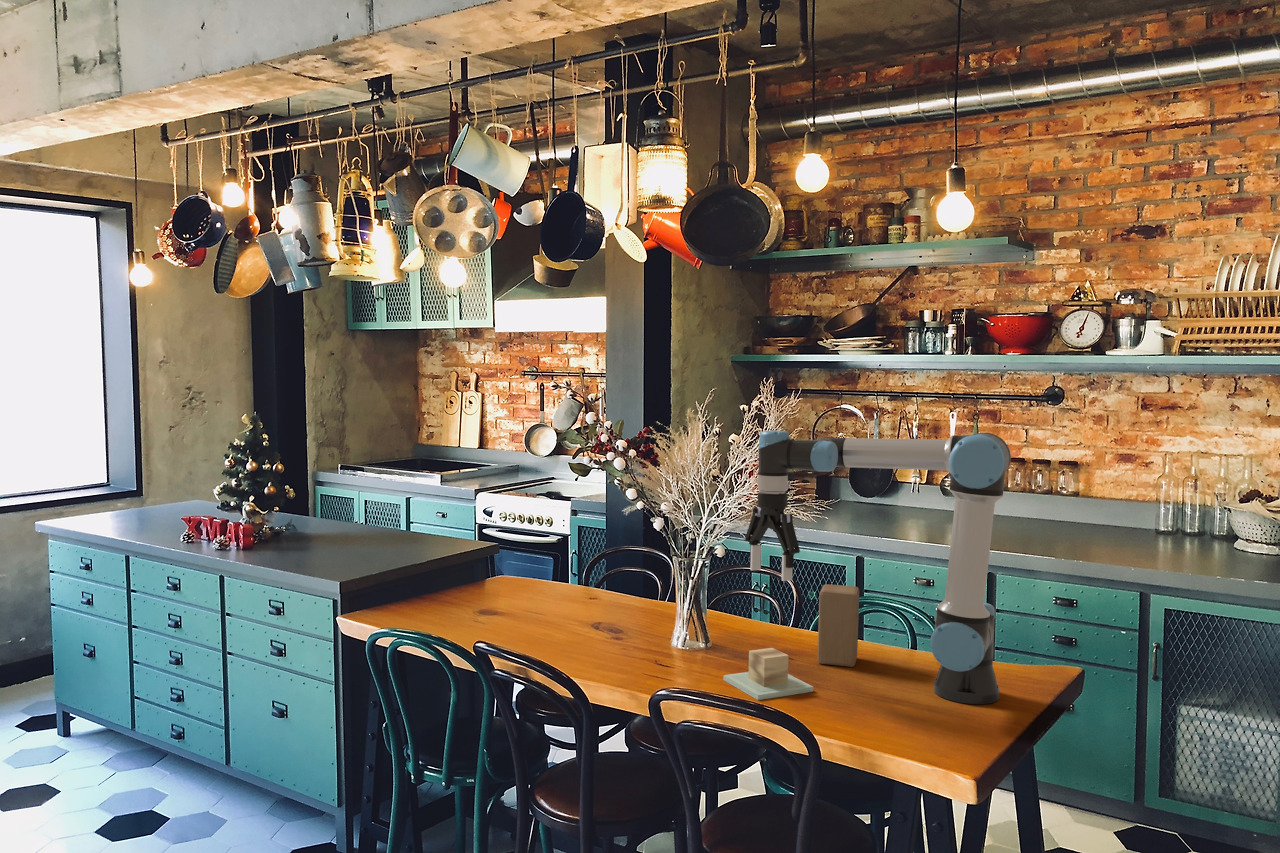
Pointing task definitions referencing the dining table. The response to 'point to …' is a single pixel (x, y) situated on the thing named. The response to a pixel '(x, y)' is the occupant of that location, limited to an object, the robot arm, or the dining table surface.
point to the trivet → (767, 692)
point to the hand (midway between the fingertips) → (770, 575)
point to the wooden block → (838, 625)
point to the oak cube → (768, 667)
